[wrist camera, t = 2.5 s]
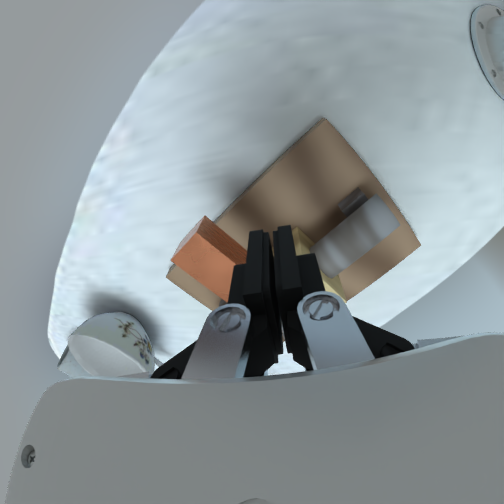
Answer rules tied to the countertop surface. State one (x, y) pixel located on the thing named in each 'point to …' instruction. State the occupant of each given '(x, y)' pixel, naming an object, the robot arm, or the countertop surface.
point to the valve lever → (210, 257)
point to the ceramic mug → (71, 365)
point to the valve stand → (319, 216)
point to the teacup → (112, 346)
